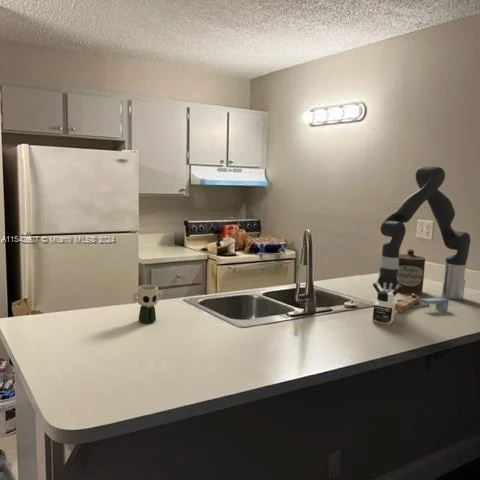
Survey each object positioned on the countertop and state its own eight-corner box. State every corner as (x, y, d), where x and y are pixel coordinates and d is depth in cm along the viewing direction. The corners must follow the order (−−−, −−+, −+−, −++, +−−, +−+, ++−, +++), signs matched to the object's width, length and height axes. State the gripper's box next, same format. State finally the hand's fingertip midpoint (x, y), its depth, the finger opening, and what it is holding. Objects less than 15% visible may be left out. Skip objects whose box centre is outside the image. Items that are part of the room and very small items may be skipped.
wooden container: (392, 292, 239) (396, 249, 236) (391, 286, 253) (395, 246, 250) (423, 296, 234) (427, 252, 231) (420, 289, 249) (425, 248, 246)
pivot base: (413, 300, 224) (414, 290, 223) (429, 306, 215) (430, 296, 214) (397, 301, 220) (398, 291, 219) (412, 307, 211) (413, 297, 210)
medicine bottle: (372, 321, 187) (374, 292, 186) (375, 317, 193) (378, 288, 192) (390, 324, 184) (393, 295, 182) (393, 320, 190) (396, 291, 189)
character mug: (135, 326, 166) (136, 290, 164) (129, 320, 172) (130, 285, 171) (164, 322, 172) (165, 288, 170) (158, 317, 178) (159, 283, 176)
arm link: (409, 299, 221) (410, 295, 220) (420, 301, 218) (421, 297, 217) (391, 309, 201) (391, 305, 201) (402, 312, 198) (403, 307, 198)
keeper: (440, 308, 212) (441, 297, 211) (447, 311, 208) (448, 299, 208) (419, 310, 207) (421, 298, 207) (426, 312, 204) (427, 301, 203)
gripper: (373, 266, 201) (370, 306, 203) (406, 269, 198) (402, 309, 201) (373, 263, 208) (369, 301, 211) (404, 266, 206) (400, 304, 208)
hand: (385, 305), depth 206 cm, fingers closed
